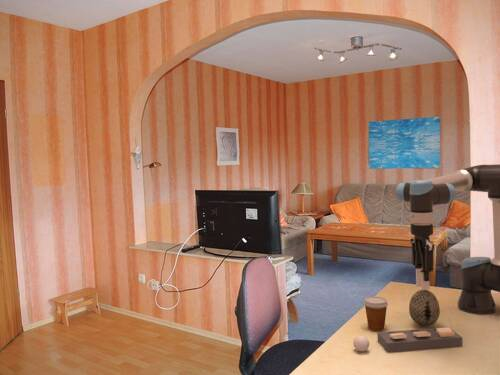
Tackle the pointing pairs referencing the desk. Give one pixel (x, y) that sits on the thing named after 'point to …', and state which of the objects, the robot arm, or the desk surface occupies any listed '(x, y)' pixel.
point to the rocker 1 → (398, 335)
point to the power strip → (417, 341)
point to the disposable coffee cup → (376, 312)
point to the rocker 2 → (445, 332)
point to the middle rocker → (421, 334)
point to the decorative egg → (424, 308)
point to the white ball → (361, 343)
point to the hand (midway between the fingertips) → (422, 287)
